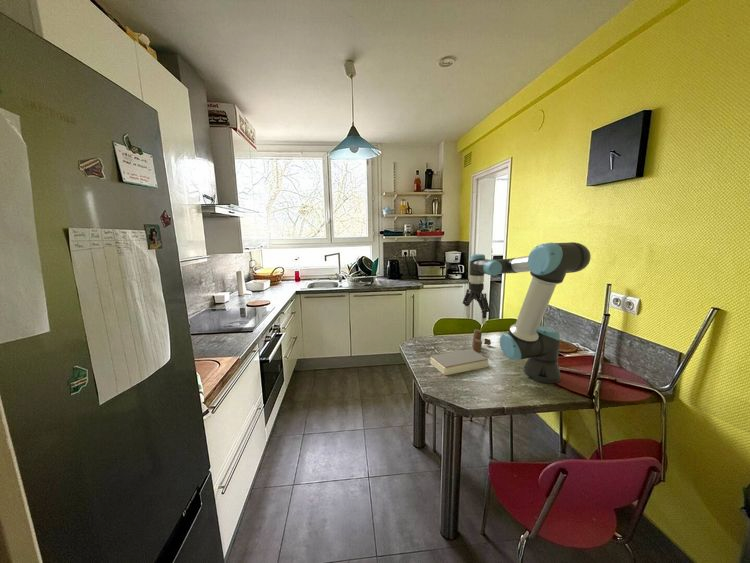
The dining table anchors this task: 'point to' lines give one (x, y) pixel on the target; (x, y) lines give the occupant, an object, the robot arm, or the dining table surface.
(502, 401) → the dining table surface
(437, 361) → the two-tone flat slab
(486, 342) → the wooden block set
